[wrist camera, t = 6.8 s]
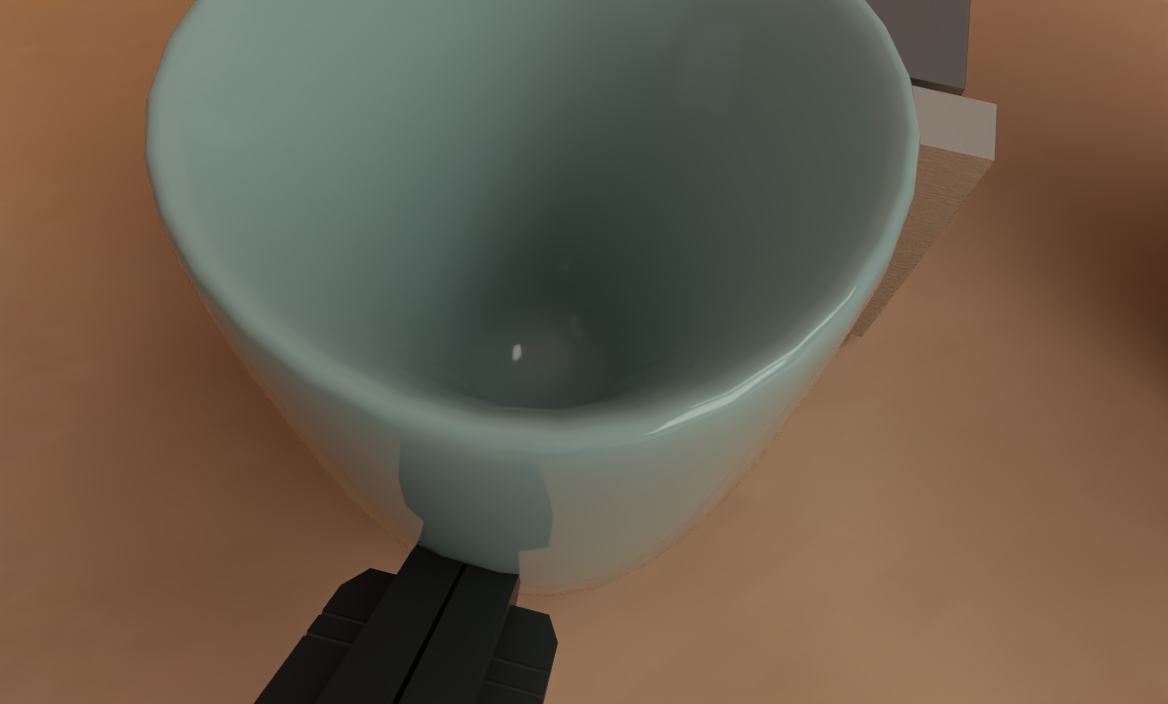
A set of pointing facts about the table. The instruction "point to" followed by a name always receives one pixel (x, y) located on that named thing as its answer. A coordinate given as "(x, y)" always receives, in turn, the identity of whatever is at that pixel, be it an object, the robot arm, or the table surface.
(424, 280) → the cup
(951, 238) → the table surface
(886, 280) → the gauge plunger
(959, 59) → the gauge housing
